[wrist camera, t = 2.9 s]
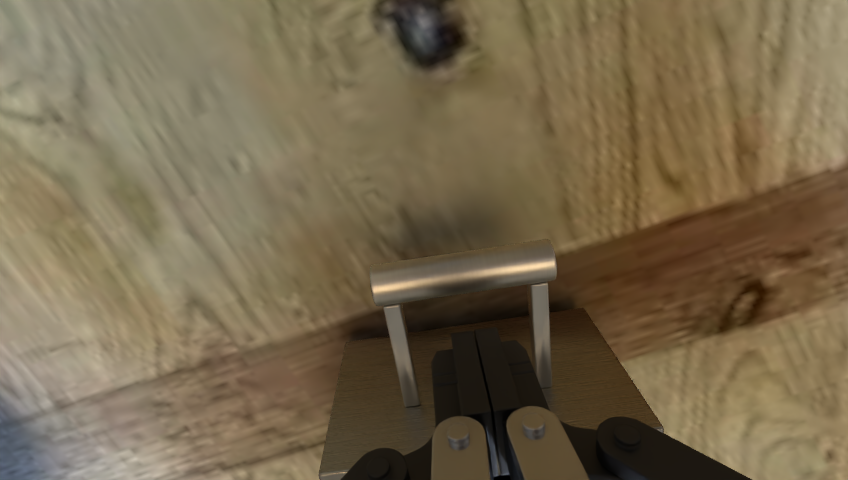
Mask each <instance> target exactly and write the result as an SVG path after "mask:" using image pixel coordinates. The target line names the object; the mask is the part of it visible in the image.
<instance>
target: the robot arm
mask: <svg viewBox="0 0 848 480" xmlns="http://www.w3.org/2000/svg"><path fill="white" fill-rule="evenodd" d="M474 335H475V339H474ZM474 335H473V331H472V330H469V331H462V332H455V333H451V340H452V347H453V349H448V350H441V351H436V354H435V356H434V358H433V360H432V362H431V370H432V383H433V397H434V411H435V430H434V432H433V435H432V437H431V438H430V440H429V441H428V442H427V443H426V444H425V445H424V446H422V447H421V448H419V449H417V450H415V451H413V452H411V453H409V454H406V455H404V456H403V455H402V454H401V453H400V452H398V451H397V450H395V449H391V448H378V449H374V450H372V451H370V452H368V453H366V454H365V455H363V456H362V457H361V458H360V459H359V460H358V461H357V462H356V463H355V464H354V465H353V466H352V468H351V469H350V470H349V471H348V472H347V473H346V474H345V475H344V476H343V477H342V478H341V480H494V477H495V476H499V475H498V467H497V460H498V464H499V469H500V473H501V475H510V479H511V480H752V479H750V478H748V477H746V476H744V475H742V474H740V473H738V472H736V471H735V470H733V469H731V468H729V467H727V466H725V465H723V464H721V463H719V462H717V461H715V460H713V459H712V458H710V457H708V456H706V455H704V454H702V453H700V452H698V451H696V450H694V449H692V448H690V447H689V446H687V445H685V444H683V443H681V442H679V441H677V440H675V439H673V438H671V437H669V436H668V435H666V434H664V433H662V432H660V431H658V430H656V429H654V428H652V427H650V426H648V425H646V424H645V423H643V422H641V421H638V420H636V419H633V418H629V417H621V416H620V417H611V418H608V419H606V420H604V421H603V422H602V423H600V425H599V426H598V428H597V430H593V429H586V428H579V427H574V426H571V425H568V424H566V423H564V422H562V421H560V420H559V419H558V417H557V416H556V415H555V414H554V413H552V412H551V411H550V409H549V407H548V404H547V402H546V399H545V397H544V394H543V391H542V389H541V386H540V384H539V381H538V379H537V376H536V374H535V372H534V368H533V366H532V363H531V361H530V358H529V356H528V353H527V351H526V349H525V348H524V347H523V346H522V345H521V344H520V343H518V342H517V341H516V340H511V341H504V342H501V339H500V336H499V333H498V330H497V327H489V328H482V329H475V330H474ZM496 455H497V458H496Z"/></svg>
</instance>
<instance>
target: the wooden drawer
mask: <svg viewBox="0 0 848 480" xmlns="http://www.w3.org/2000/svg"><path fill="white" fill-rule="evenodd" d="M556 275H557V263H556V257H555V252H554V249H553V246H552V244H551V242H550V241H549V240H548V239H543V240H537V241H530V242H523V243H517V244H510V245H503V246H496V247H490V248H483V249H476V250H469V251H463V252H456V253H449V254H443V255H436V256H429V257H422V258H416V259H409V260H402V261H395V262H389V263H382V264H375V265H372V266H371V267H370V284H371V291H372V296H373V300H374V302H375V304H376V306H383V305H384V307H383V308H384V313H385V317H386V322H387V327H388V331H389V336H384V337H377V338H370V339H363V340H356V341H349V342H346V344H345V349H344V354H343V359H342V364H341V369H340V373H339V378H338V383H337V388H336V393H335V398H334V402H333V407H332V412H331V417H330V422H329V427H328V432H327V436H326V441H325V446H324V451H323V456H322V461H321V465H320V470H319V478H320V480H341V478H342V477H343V476H344V475H345V474H346V473H347V472H348V471H349V470H350V469H351V468H352V466H353V465H354V464H355V463H356V462H357V461H358V460H359V459H360V458H361V457H362V456H363V455H365V454H366V453H368V452H370V451H372V450H374V449H378V448H391V449H395V450H397V451H398V452H400V453H401V454H402V455H403V456H404V455H406V454H409V453H411V452H413V451H415V450H417V449H419V448H421V447H422V446H424V445H425V444H426V443H427V442H428V441H429V440H430V438H431V437H432V435H433V432H434V430H435V411H434V397H433V383H432V370H431V362H432V360H433V358H434V356H435V354H436V351H441V350H448V349H453V347H452V340H451V333H455V332H462V331H469V330H472V331H473V335H474V330H475V329H482V328H489V327H497V330H498V333H499V336H500V339H501V342H504V341H511V340H516V341H517V342H518V343H520V344H521V345H522V346H523V347H524V348H525V349H526V351H527V353H528V356H529V358H530V361H531V363H532V366H533V368H534V372H535V374H536V376H537V379H538V381H539V384H540V386H541V389H542V391H543V394H544V397H545V399H546V402H547V404H548V407H549V409H550V411H551V412H552V413H554V414H555V415H556V416H557V417H558V419H559V420H560V421H562V422H564V423H566V424H568V425H571V426H574V427H579V428H586V429H593V430H597V428H598V426H599V425H600V423H602V422H603V421H604V420H606V419H608V418H611V417H620V416H621V417H629V418H633V419H636V420H638V421H641V422H643V423H645V424H646V425H648V426H650V427H652V428H654V429H656V430H658V431H660V432H662V433H663V430H664V429H663V426H662V425H661V423H660V422H659V420H658V419H657V417H656V416H655V414H654V413H653V411H652V410H651V408H650V407H649V405H648V404H647V402H646V401H645V399H644V398H643V396H642V395H641V393H640V392H639V390H638V389H637V387H636V386H635V384H634V383H633V381H632V380H631V378H630V377H629V375H628V374H627V372H626V371H625V369H624V368H623V366H622V365H621V363H620V362H619V360H618V359H617V357H616V356H615V354H614V353H613V351H612V350H611V348H610V347H609V345H608V344H607V342H606V341H605V339H604V338H603V336H602V335H601V333H600V332H599V330H598V329H597V327H596V326H595V325H594V323H593V322H592V320H591V319H590V317H589V316H588V314H587V313H586V311H585V310H584V308H578V309H571V310H564V311H557V312H550V313H549V296H548V283H547V281H553V280H555V279H556ZM520 285H527V291H528V306H529V316H522V317H516V318H509V319H502V320H495V321H488V322H481V323H474V324H467V325H460V326H453V327H446V328H439V329H432V330H425V331H418V332H411V333H408V331H407V326H406V321H405V316H404V311H403V306H402V303H404V302H410V301H417V300H424V299H431V298H438V297H445V296H452V295H458V294H465V293H472V292H479V291H486V290H493V289H499V288H506V287H513V286H520ZM474 339H475V335H474ZM496 458H497V455H496ZM497 467H498V475H499V476H495V477H494V480H511V479H510V475H501V473H500V469H499V464H498V460H497Z"/></svg>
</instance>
